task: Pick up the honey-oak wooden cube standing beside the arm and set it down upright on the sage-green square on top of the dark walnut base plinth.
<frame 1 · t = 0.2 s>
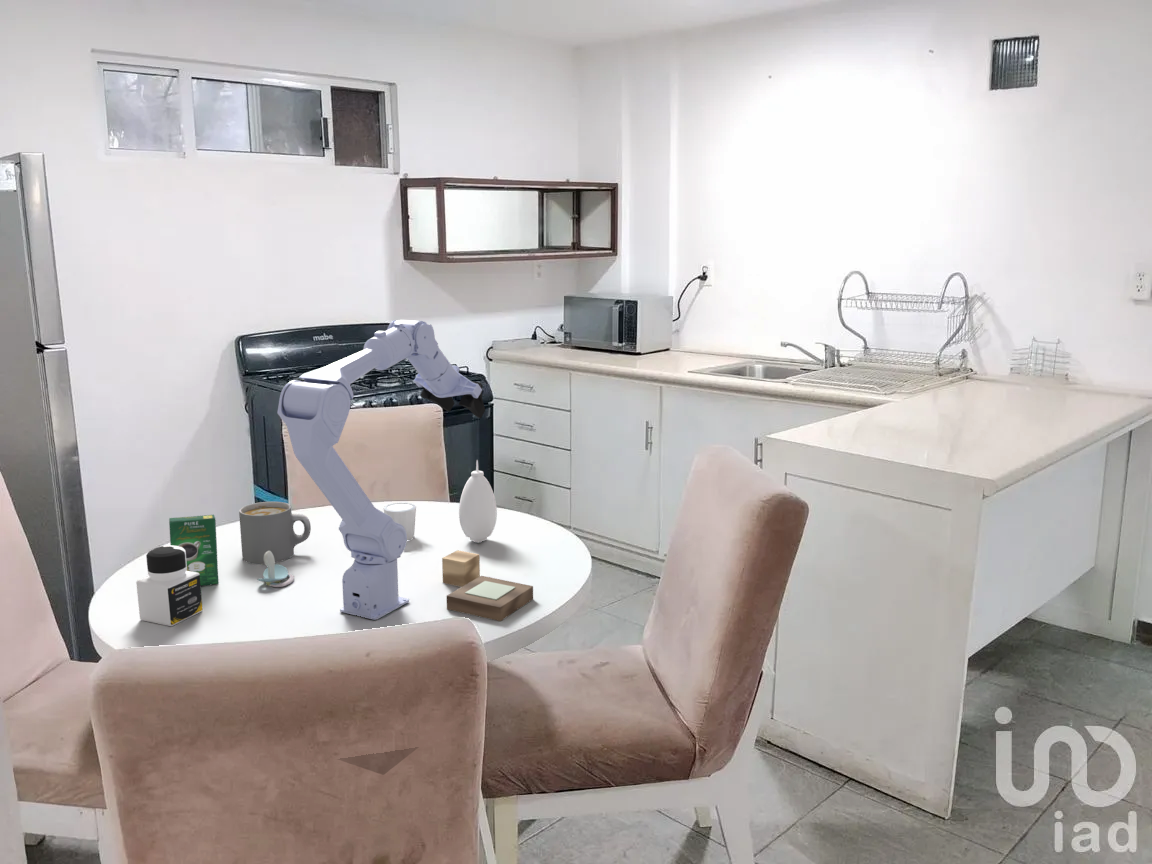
hand: (466, 410, 177), 31 cm above the table, tool tilted 45°, fingers open, 7 cm apart
white cup: (400, 538, 196), on the table
pacifier: (277, 583, 170), on the table
coffee mug: (277, 556, 185), on the table
oak cube: (461, 581, 172), on the table
coffee box: (196, 585, 169), on the table
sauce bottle: (478, 542, 195), on the table
medicine bottle: (171, 617, 155), on the table
walnut base: (490, 604, 161), on the table
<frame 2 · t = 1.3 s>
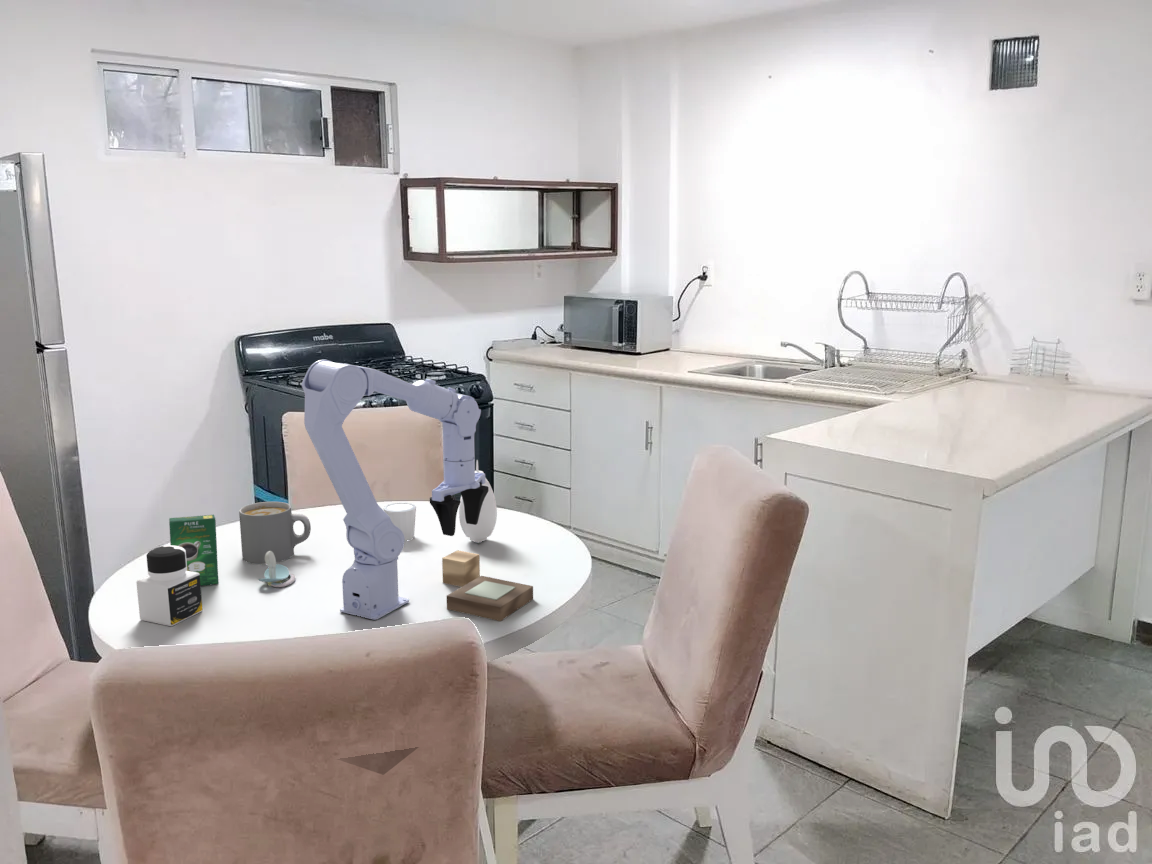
hand: (460, 529, 170), 10 cm above the table, tool pointing down, fingers open, 7 cm apart
nothing on the table moved.
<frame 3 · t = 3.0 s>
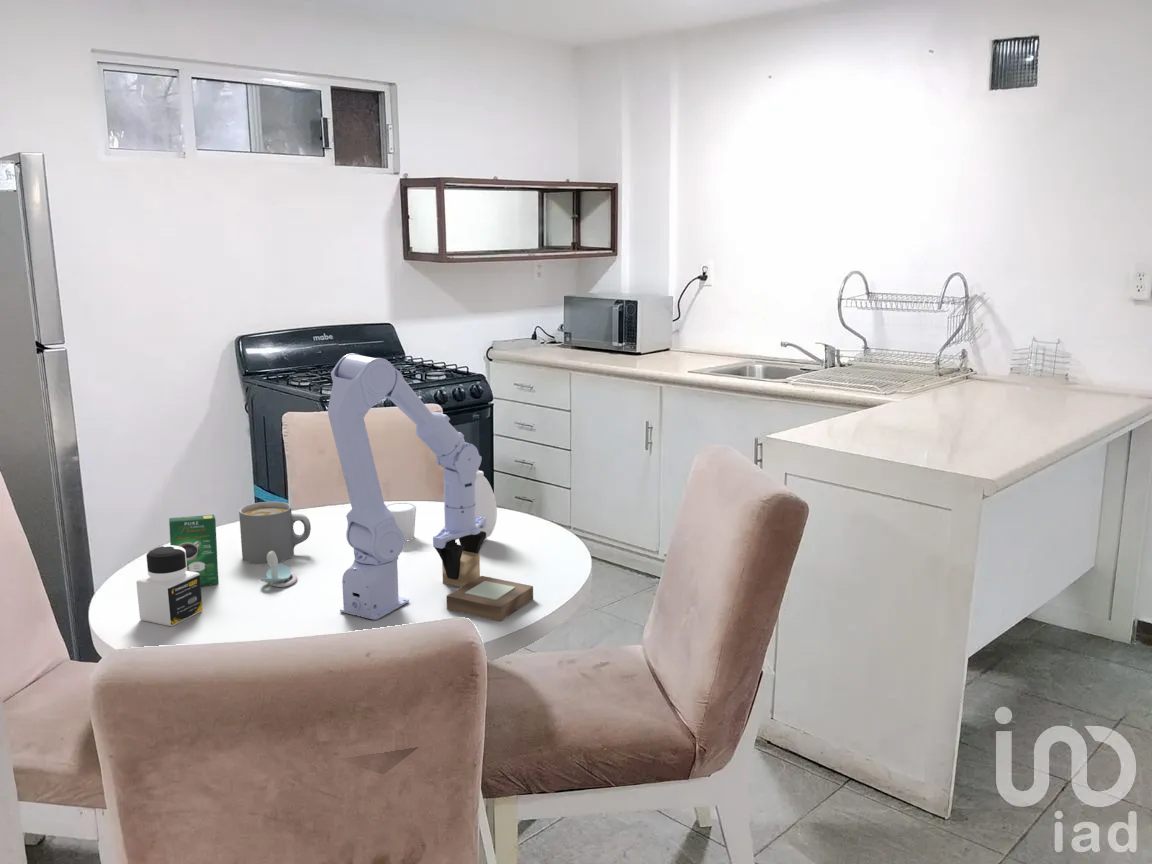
hand: (461, 573, 171), 1 cm above the table, tool pointing down, fingers closed on oak cube, 5 cm apart
oak cube: (461, 580, 172), on the table, touching gripper
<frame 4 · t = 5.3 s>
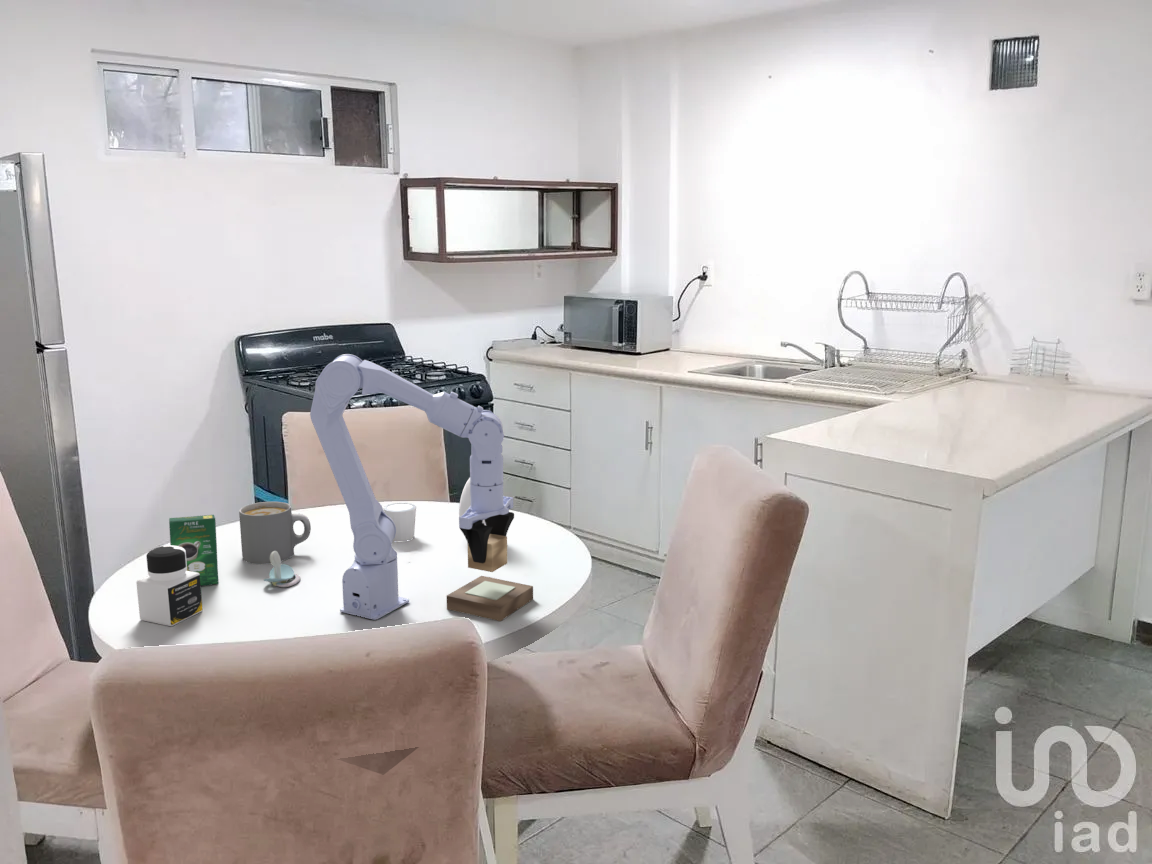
hand: (487, 557, 160), 8 cm above the table, tool pointing down, fingers closed on oak cube, 5 cm apart
oak cube: (487, 565, 160), point 7 cm above the table, touching gripper
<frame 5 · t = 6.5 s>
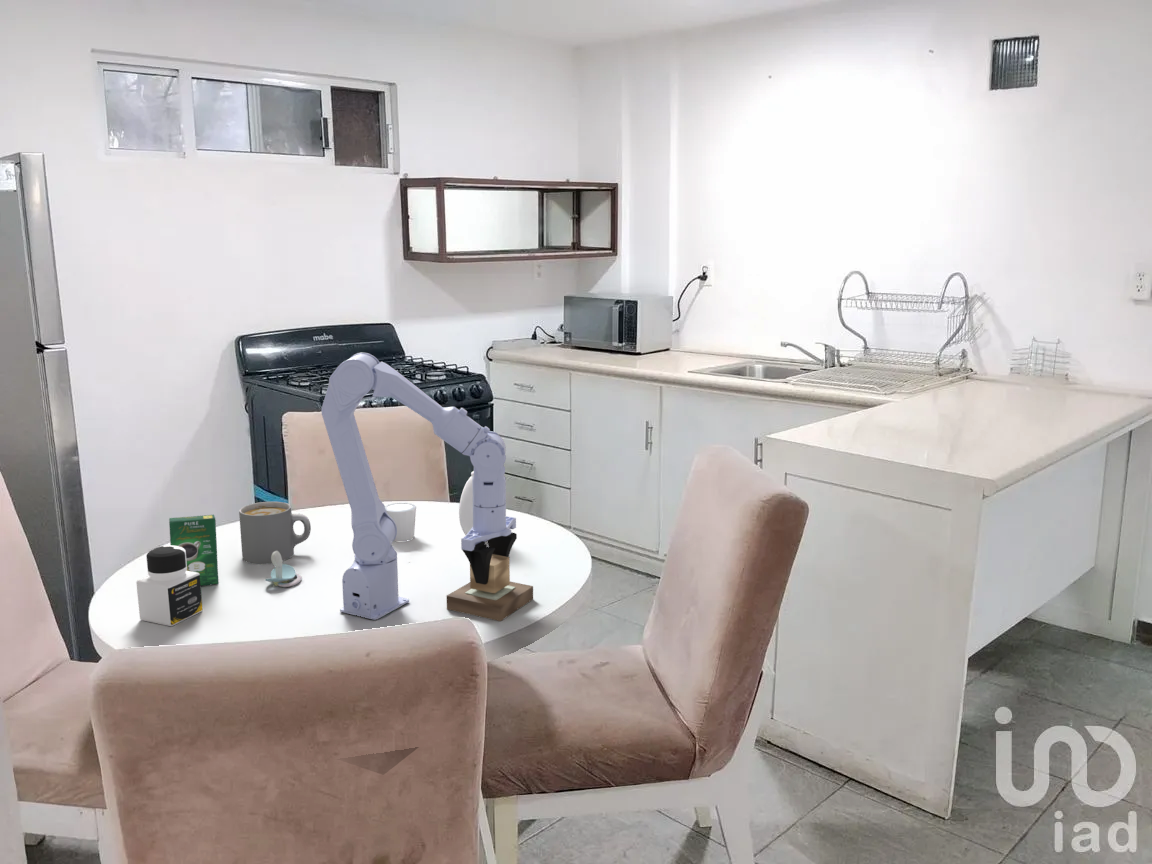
hand: (490, 577, 160), 5 cm above the table, tool pointing down, fingers closed on oak cube, 5 cm apart
oak cube: (490, 586, 160), point 3 cm above the table, touching gripper
when the fingers open (5 cm above the table, at t = 7.5 s): oak cube stays where it is, resting on walnut base.
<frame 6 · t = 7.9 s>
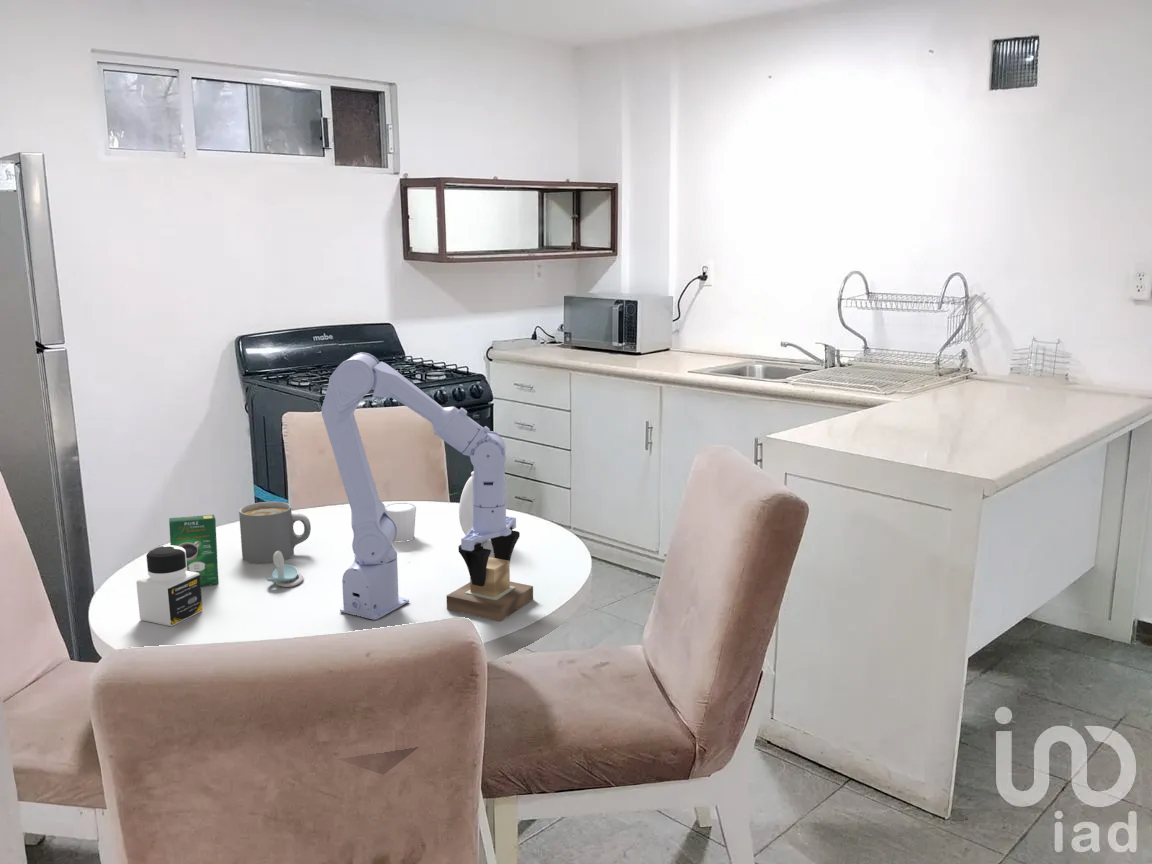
hand: (490, 577, 160), 5 cm above the table, tool pointing down, fingers open, 7 cm apart
oak cube: (490, 589, 160), point 3 cm above the table, touching walnut base
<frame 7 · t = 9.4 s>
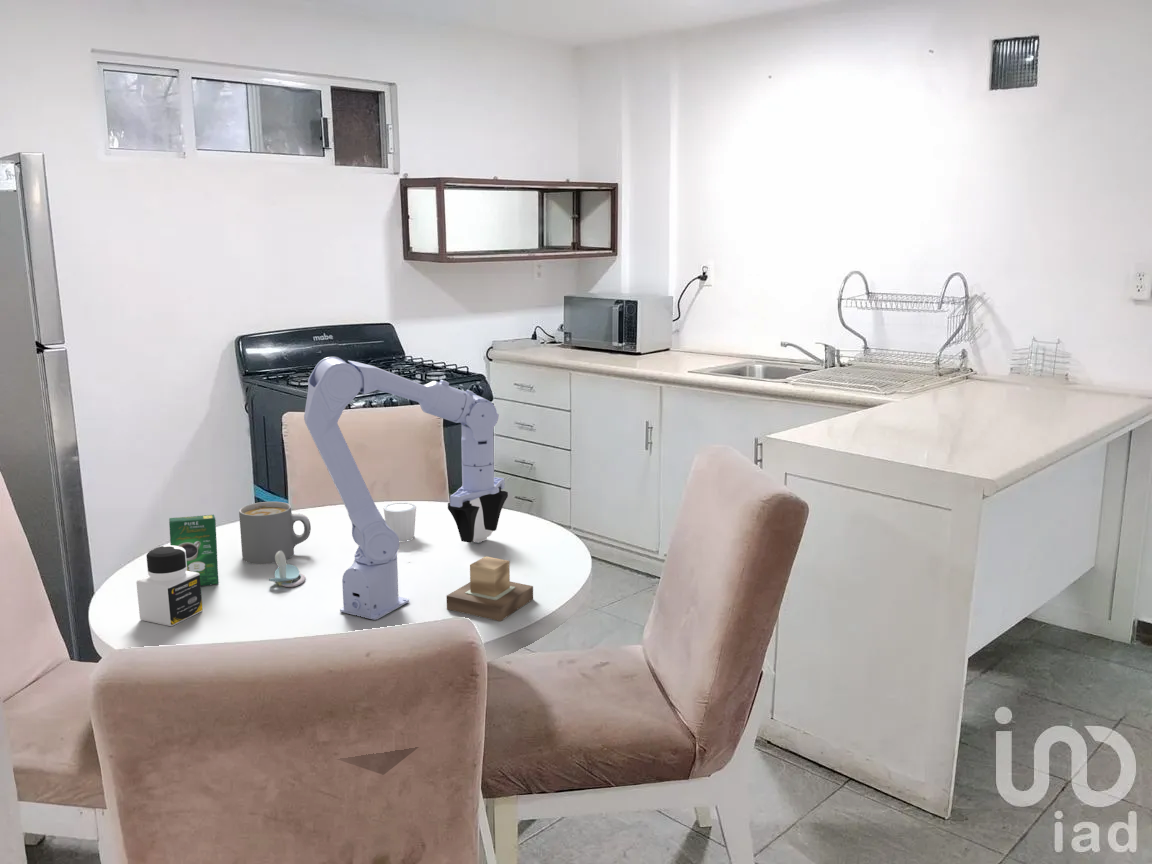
hand: (479, 535, 165), 10 cm above the table, tool pointing down, fingers open, 7 cm apart
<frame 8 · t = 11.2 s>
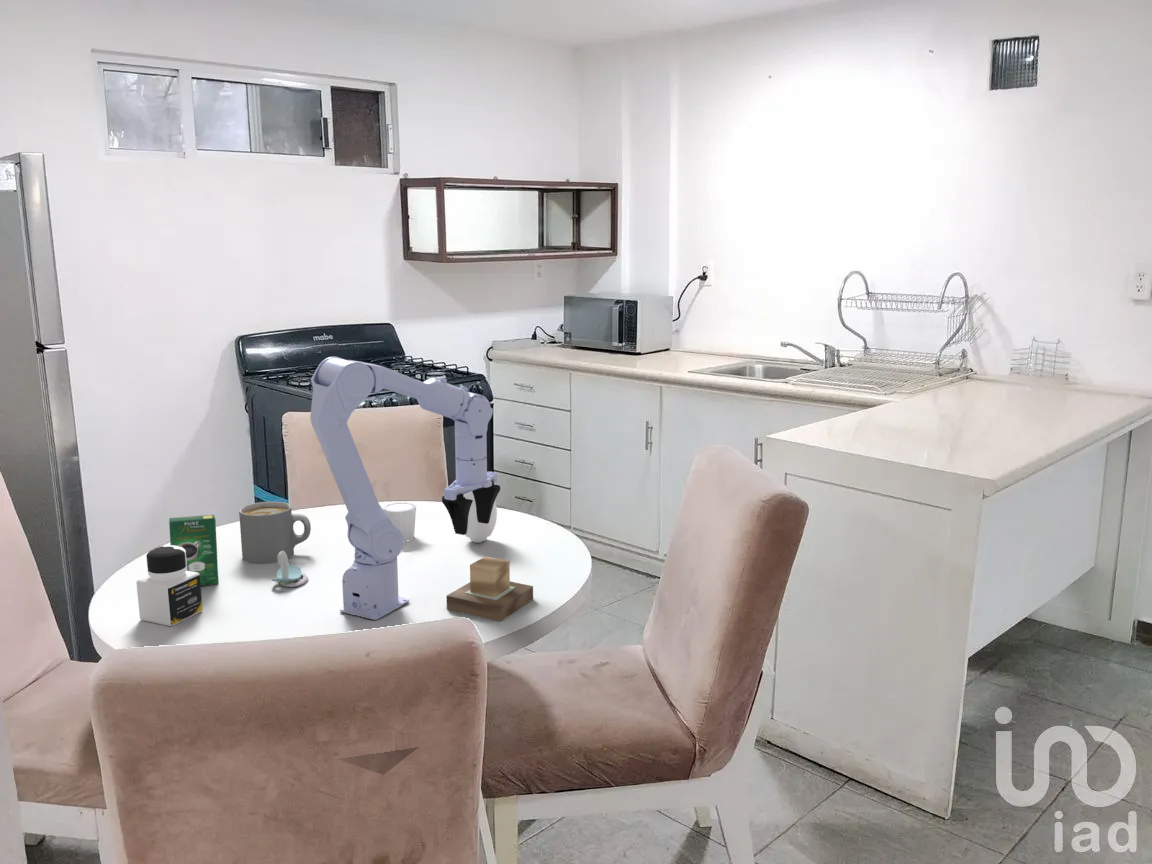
hand: (472, 528, 170), 10 cm above the table, tool pointing down, fingers open, 7 cm apart
at the end: oak cube 0.0 cm off-centre on the walnut base, point 2.7 cm above the walnut base's base; oak cube tilted 0°; the gripper is holding nothing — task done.
